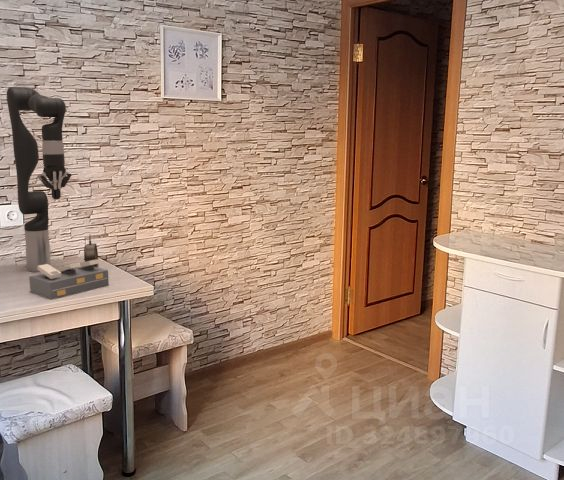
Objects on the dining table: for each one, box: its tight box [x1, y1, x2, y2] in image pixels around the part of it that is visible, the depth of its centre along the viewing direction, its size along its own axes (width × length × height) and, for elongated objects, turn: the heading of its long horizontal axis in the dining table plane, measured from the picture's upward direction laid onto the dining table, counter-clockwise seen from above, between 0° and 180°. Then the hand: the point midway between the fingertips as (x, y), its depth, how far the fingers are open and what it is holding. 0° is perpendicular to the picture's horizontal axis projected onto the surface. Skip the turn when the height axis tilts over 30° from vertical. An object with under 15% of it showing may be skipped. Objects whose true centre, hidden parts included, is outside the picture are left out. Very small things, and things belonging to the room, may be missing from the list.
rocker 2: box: [57, 261, 81, 272], centre depth 218 cm, size 9×4×2 cm, turn 52°
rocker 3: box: [77, 258, 100, 268], centre depth 224 cm, size 9×4×2 cm, turn 52°
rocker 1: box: [37, 264, 61, 279], centre depth 212 cm, size 9×4×2 cm, turn 52°
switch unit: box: [28, 265, 110, 300], centre depth 219 cm, size 14×24×7 cm, turn 142°
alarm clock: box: [83, 233, 100, 268], centre depth 243 cm, size 11×5×16 cm, turn 13°
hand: (56, 199), depth 220 cm, fingers closed
